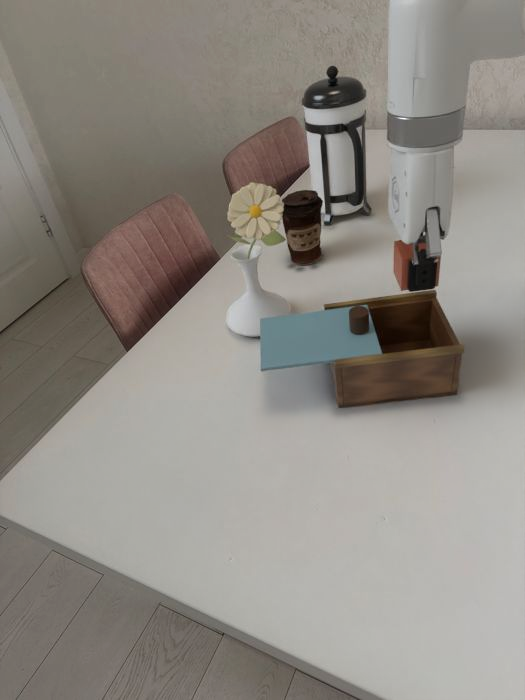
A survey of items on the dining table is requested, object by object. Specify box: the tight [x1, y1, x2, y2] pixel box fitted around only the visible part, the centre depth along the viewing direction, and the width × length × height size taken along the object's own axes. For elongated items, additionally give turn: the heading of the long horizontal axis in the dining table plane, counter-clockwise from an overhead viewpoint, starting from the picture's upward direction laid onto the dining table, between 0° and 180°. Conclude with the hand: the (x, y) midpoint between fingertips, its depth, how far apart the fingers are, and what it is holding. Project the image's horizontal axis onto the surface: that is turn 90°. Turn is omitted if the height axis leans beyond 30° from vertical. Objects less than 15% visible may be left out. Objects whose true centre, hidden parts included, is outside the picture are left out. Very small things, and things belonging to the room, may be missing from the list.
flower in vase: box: [225, 181, 292, 338], centre depth 78 cm, size 13×11×25 cm
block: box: [392, 239, 442, 292], centre depth 61 cm, size 4×4×4 cm
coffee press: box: [301, 65, 373, 226], centre depth 104 cm, size 17×16×30 cm
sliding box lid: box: [259, 305, 382, 372], centre depth 67 cm, size 16×11×4 cm
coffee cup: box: [281, 189, 323, 266], centre depth 97 cm, size 9×8×13 cm
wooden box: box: [323, 289, 466, 409], centre depth 70 cm, size 16×13×9 cm
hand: (415, 276), depth 62 cm, fingers closed on block, 4 cm apart
